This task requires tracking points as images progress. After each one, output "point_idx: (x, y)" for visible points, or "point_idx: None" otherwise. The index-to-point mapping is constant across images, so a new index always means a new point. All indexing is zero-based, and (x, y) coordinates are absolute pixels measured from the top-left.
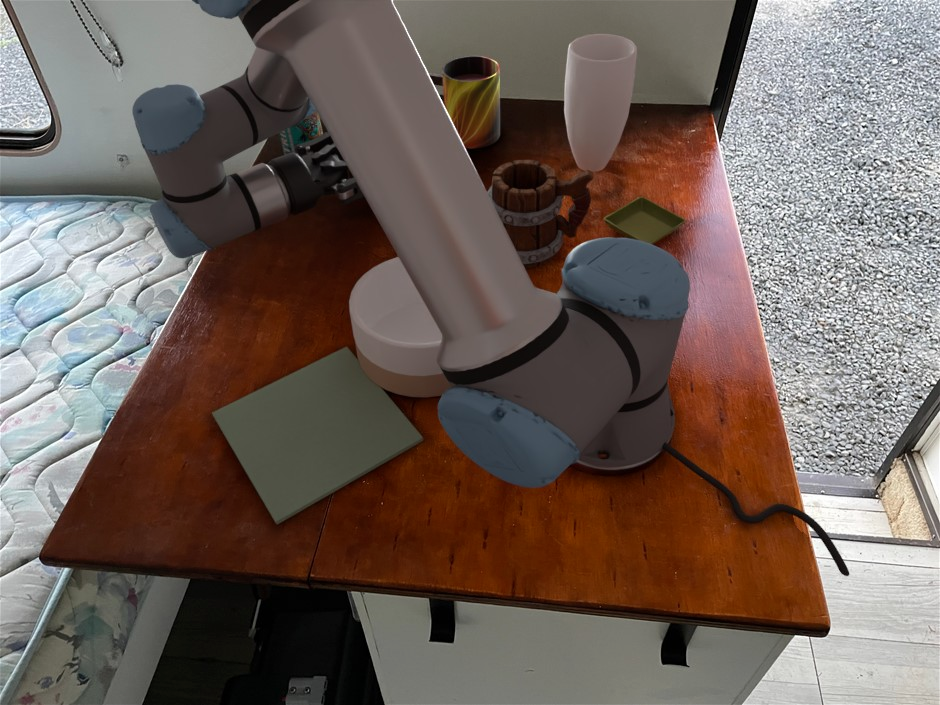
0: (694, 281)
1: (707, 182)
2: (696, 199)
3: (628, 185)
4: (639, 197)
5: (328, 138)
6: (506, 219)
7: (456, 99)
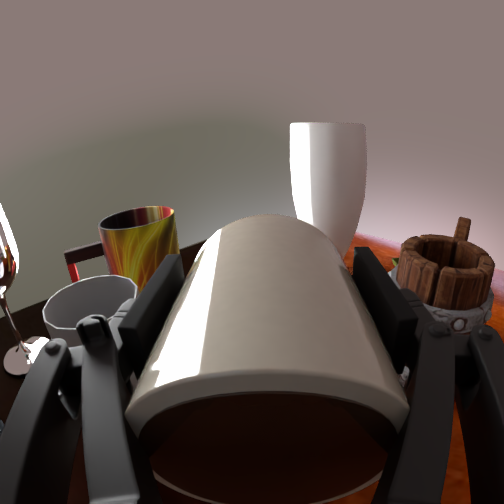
0: (492, 282)
1: (373, 239)
2: (392, 249)
3: (351, 264)
4: (392, 259)
5: (33, 449)
6: (488, 317)
7: (140, 256)
